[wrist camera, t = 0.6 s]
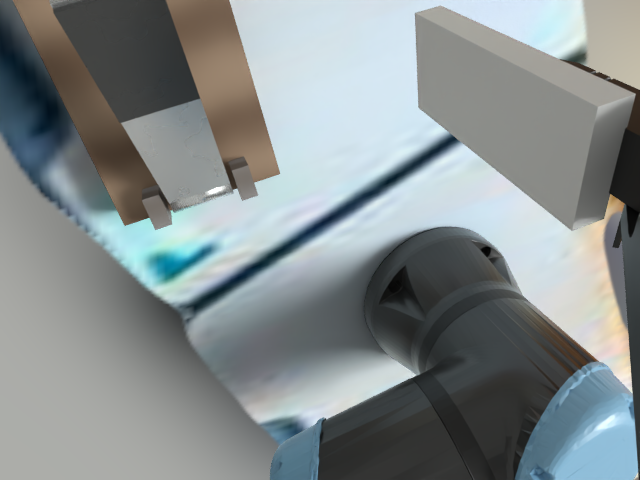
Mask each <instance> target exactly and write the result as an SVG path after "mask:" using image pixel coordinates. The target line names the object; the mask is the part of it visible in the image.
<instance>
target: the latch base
mask: <svg viewBox="0 0 640 480" xmlns="http://www.w3.org/2000/svg"><path fill="white" fill-rule="evenodd" d="M13 2H14V4H15V6H16V8H17V10H18V12H19V14H20V16H21V18H22V20H23V22H24V24H25V26H26V28H27V30H28V32H29V34H30V36H31V38H32V40H33V42H34V44H35V46H36V48H37V50H38V52H39V54H40V56H41V58H42V60H43V62H44V64H45V66H46V68H47V70H48V72H49V74H50V76H51V78H52V80H53V83H54V85H55V87H56V89H57V91H58V93H59V95H60V97H61V99H62V101H63V103H64V105H65V107H66V109H67V111H68V113H69V115H70V117H71V119H72V121H73V123H74V125H75V127H76V129H77V131H78V133H79V135H80V137H81V139H82V141H83V143H84V145H85V147H86V149H87V151H88V153H89V155H90V157H91V159H92V161H93V163H94V165H95V167H96V169H97V171H98V173H99V175H100V177H101V179H102V181H103V183H104V185H105V187H106V189H107V191H108V193H109V195H110V197H111V199H112V201H113V203H114V205H115V207H116V209H117V211H118V213H119V215H120V217H121V219H122V221H123V223H124V225H125V226H126V225H129V224H132V223H135V222H138V221H141V220H144V219H147V218H150V219H151V222H152V224H153V226H154V228H155V230H157V229H160V228H163V227H166V226H169V225H172V218H171V212H170V210H172V208H171V205H170V204H169V202H168V200H167V199H166V197H165V195H164V194H163V192H162V190H161V189H160V187H159V185H158V184H157V182H156V180H155V179H154V177H153V175H152V174H151V172H150V170H149V169H148V167H147V165H146V164H145V162H144V160H143V159H142V157H141V155H140V154H139V152H138V150H137V149H136V147H135V145H134V144H133V142H132V140H131V139H130V137H129V135H128V134H127V132H126V130H125V129H124V127H123V125H122V124H121V123H119V121H118V119H117V118H116V116H115V114H114V113H113V111H112V109H111V108H110V106H109V104H108V103H107V101H106V99H105V98H104V96H103V95H102V93H101V91H100V90H99V88H98V86H97V85H96V83H95V81H94V80H93V78H92V76H91V75H90V73H89V71H88V70H87V68H86V66H85V65H84V63H83V61H82V60H81V58H80V56H79V55H78V53H77V51H76V50H75V48H74V46H73V45H72V43H71V41H70V40H69V38H68V36H67V35H66V33H65V31H64V30H63V28H62V27H61V25H60V23H59V22H58V20H57V18H56V17H55V15H54V13H53V8H52V7H51V5H50V2H49V0H13ZM166 2H167V5H168V8H169V10H170V13H171V16H172V19H173V22H174V25H175V28H176V30H177V33H178V36H179V39H180V42H181V45H182V48H183V50H184V53H185V56H186V59H187V62H188V65H189V67H190V70H191V73H192V76H193V79H194V82H195V85H196V87H197V90H198V93H199V96H200V99H201V102H202V105H203V107H204V110H205V113H206V116H207V119H208V122H209V125H210V127H211V130H212V133H213V136H214V139H215V142H216V145H217V147H218V150H219V153H220V156H221V159H222V162H223V164H224V167H225V170H226V173H227V176H228V179H229V182H230V184H231V187H232V190H233V189H236V188H238V191H239V194H240V196H241V199H242V201H243V200H246V199H249V198H252V197H254V196H257V195H258V194H257V191H256V188H255V184H254V182H257V181H260V180H263V179H266V178H269V177H272V176H275V175H278V174H280V171H279V168H278V165H277V161H276V158H275V155H274V151H273V148H272V144H271V141H270V138H269V134H268V131H267V127H266V124H265V121H264V117H263V114H262V110H261V107H260V104H259V100H258V97H257V93H256V90H255V87H254V83H253V80H252V76H251V73H250V70H249V66H248V63H247V59H246V56H245V53H244V49H243V46H242V42H241V39H240V36H239V32H238V29H237V25H236V22H235V19H234V15H233V12H232V8H231V5H230V2H229V0H166Z"/></svg>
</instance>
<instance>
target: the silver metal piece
mask: <svg viewBox="0 0 640 480" xmlns="http://www.w3.org/2000/svg"><path fill="white" fill-rule="evenodd" d="M49 2H50V5H51V7H52V8H53V13H54V15H55V17H56V18H57V20H58V22H59V23H60V25H61V27H62V28H63V30H64V31H65V33H66V35H67V36H68V38H69V40H70V41H71V43H72V45H73V46H74V48H75V50H76V51H77V53H78V55H79V56H80V58H81V60H82V61H83V63H84V65H85V66H86V68H87V70H88V71H89V73H90V75H91V76H92V78H93V80H94V81H95V83H96V85H97V86H98V88H99V90H100V91H101V93H102V95H103V96H104V98H105V99H106V101H107V103H108V104H109V106H110V108H111V109H112V111H113V113H114V114H115V116H116V118H117V119H118V121H119V123H121V124H122V125H123V127H124V129H125V130H126V132H127V134H128V135H129V137H130V139H131V140H132V142H133V144H134V145H135V147H136V149H137V150H138V152H139V154H140V155H141V157H142V159H143V160H144V162H145V164H146V165H147V167H148V169H149V170H150V172H151V174H152V175H153V177H154V179H155V180H156V182H157V184H158V185H159V187H160V189H161V190H162V192H163V194H164V195H165V197H166V199H167V200H168V202H169V204H170V205H171V208H172V210H173V212H174V213H176V212H179V211H182V210H185V209H188V208H191V207H194V206H197V205H200V204H203V203H206V202H209V201H212V200H215V199H218V198H221V197H224V196H227V195H230V194H233V190H232V187H231V184H230V182H229V179H228V176H227V173H226V170H225V167H224V164H223V162H222V159H221V156H220V153H219V150H218V147H217V145H216V142H215V139H214V136H213V133H212V130H211V127H210V125H209V122H208V119H207V116H206V113H205V110H204V107H203V105H202V102H201V99H200V96H199V93H198V90H197V87H196V85H195V82H194V79H193V76H192V73H191V70H190V67H189V65H188V62H187V59H186V56H185V53H184V50H183V48H182V45H181V42H180V39H179V36H178V33H177V30H176V28H175V25H174V22H173V19H172V16H171V13H170V10H169V8H168V5H167V2H166V0H49Z"/></svg>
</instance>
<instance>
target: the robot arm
mask: <svg viewBox="0 0 640 480" xmlns="http://www.w3.org/2000/svg"><path fill="white" fill-rule="evenodd" d="M415 26H416V53H417V80H418V107H419V108H420V109H421V110H422V111H423V112H424V113H426V114H427V115H428V116H429V117H431V118H432V119H433V120H434V121H436V122H437V123H438V124H439V125H441V126H442V127H443V128H444V129H446V130H447V131H448V132H449V133H451V134H452V135H453V136H454V137H456V138H457V139H458V140H459V141H461V142H462V143H463V144H464V145H466V146H467V147H468V148H469V149H471V150H472V151H473V152H474V153H476V154H477V155H478V156H479V157H481V158H482V159H483V160H484V161H486V162H487V163H488V164H489V165H491V166H492V167H493V168H494V169H495V170H497V171H498V172H499V173H500V174H502V175H503V176H504V177H505V178H507V179H508V180H509V181H510V182H512V183H513V184H514V185H515V186H517V187H518V188H519V189H520V190H522V191H523V192H524V193H525V194H527V195H528V196H529V197H530V198H532V199H533V200H534V201H535V202H537V203H538V204H539V205H540V206H542V207H543V208H544V209H545V210H547V211H548V212H549V213H550V214H552V215H553V216H554V217H555V218H557V219H558V220H559V221H560V222H562V223H563V224H564V225H565V226H566V227H568V228H569V229H570V230H571V231H573V230H576V229H578V228H581V227H584V226H586V225H589V224H592V223H594V222H597V221H599V220H602V219H604V216H605V212H606V208H607V204H608V200H609V197H610V194H612V195H613V196H615V197H616V198H618V199H619V200H621V201H622V202H623V203H625V205H624V208H623V212H622V215H621V219H620V222H619V226H618V230H617V233H616V237H615V240H614V244H613V247H615V248H619V245H620V242H621V241H622V247H623V261H624V275H625V290H626V304H627V318H628V333H629V347H630V361H631V376H632V390H633V394H632V393H631V392H630V391H629V390H628V389H627V388H626V387H625V386H624V385H623V384H622V383H621V382H620V381H619V380H618V379H617V378H616V377H615V375H614V374H613V372H612V371H611V370H610V368H609V367H608V366H607V365H605V364H604V363H602V362H599V361H598V360H597V359H595V358H594V357H593V356H592V355H591V354H590V353H588V352H587V351H586V350H585V349H584V348H583V347H581V346H580V345H579V344H578V343H577V342H576V341H575V340H573V339H572V338H571V337H570V336H569V335H568V334H566V333H565V332H564V331H563V330H562V329H561V328H559V327H558V326H557V325H556V324H555V323H554V322H552V321H551V320H550V319H549V318H548V317H547V316H546V315H544V314H543V313H542V312H541V311H540V310H539V309H537V308H536V307H535V306H534V305H532V304H531V303H530V302H529V301H528V300H527V299H526V298H525V297H524V296H523V295H522V293H521V291H520V289H519V287H518V285H517V283H516V281H515V279H514V277H513V275H512V273H511V271H510V269H509V266H508V264H507V262H506V260H505V259H504V257H503V256H502V254H501V253H500V252H499V251H498V250H497V249H496V248H495V247H494V246H493V245H492V244H491V243H489V242H488V241H487V240H486V239H485V238H483V237H482V236H481V235H479V234H477V233H475V232H473V231H471V230H468V229H464V228H458V227H444V228H437V229H433V230H429V231H426V232H423V233H421V234H419V235H416V236H414V237H412V238H411V239H409V240H407V241H406V242H404V243H403V244H401V245H400V246H399V247H397V248H396V249H395V250H394V251H393V252H392V253H390V254H389V255H388V257H387V258H386V259H385V260H384V261H383V262H382V263H381V265H380V266H379V267H378V269H377V270H376V272H375V274H374V275H373V277H372V279H371V281H370V284H369V286H368V289H367V293H366V297H365V305H364V311H365V319H366V322H367V325H368V328H369V330H370V331H371V333H372V335H373V336H374V338H375V340H376V341H377V343H378V344H379V346H380V347H381V348H382V349H383V350H384V351H385V352H386V353H387V354H388V355H389V356H390V357H392V358H393V359H395V360H396V361H398V362H399V363H400V364H402V365H403V366H405V367H406V368H408V369H409V370H411V371H412V372H413V373H415V374H416V375H417V376H415V377H413V378H411V379H408V380H406V381H404V382H402V383H400V384H398V385H396V386H394V387H392V388H390V389H388V390H386V391H384V392H382V393H380V394H378V395H376V396H373V397H371V398H369V399H367V400H365V401H363V402H361V403H359V404H357V405H355V406H353V407H351V408H349V409H347V410H345V411H343V412H341V413H339V414H337V415H335V416H333V417H331V418H329V419H327V420H326V418H324V417H323V418H321V419H319V420H318V421H317V423H316V424H315V425H313V426H311V427H310V428H308V429H306V430H304V431H302V432H301V433H299V434H297V435H295V436H293V437H292V438H290V439H288V440H286V441H285V442H284V443H282V444H281V445H280V446H279V448H278V449H277V451H276V452H275V454H274V457H273V460H272V463H271V469H270V480H633V479H634V478H635V476H636V475H637V473H638V475H639V480H640V90H638V89H636V88H634V87H631V86H629V85H627V84H625V83H623V82H620V81H618V80H616V79H612V80H611V79H610V77H609V76H606V75H604V74H602V73H600V72H599V73H596V71H595V70H593V69H591V68H589V67H586V66H584V65H582V64H580V63H577V62H571V61H566V60H561V59H557V58H555V57H553V56H551V55H549V54H546V53H544V52H542V51H540V50H537V49H535V48H533V47H531V46H529V45H526V44H524V43H522V42H520V41H518V40H515V39H513V38H511V37H509V36H507V35H504V34H502V33H500V32H498V31H495V30H493V29H491V28H489V27H487V26H484V25H482V24H480V23H478V22H476V21H473V20H471V19H469V18H467V17H465V16H462V15H460V14H458V13H456V12H453V11H451V10H449V9H447V8H445V7H442V6H438V7H434V8H431V9H427V10H424V11H421V12H417V13H415Z"/></svg>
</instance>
